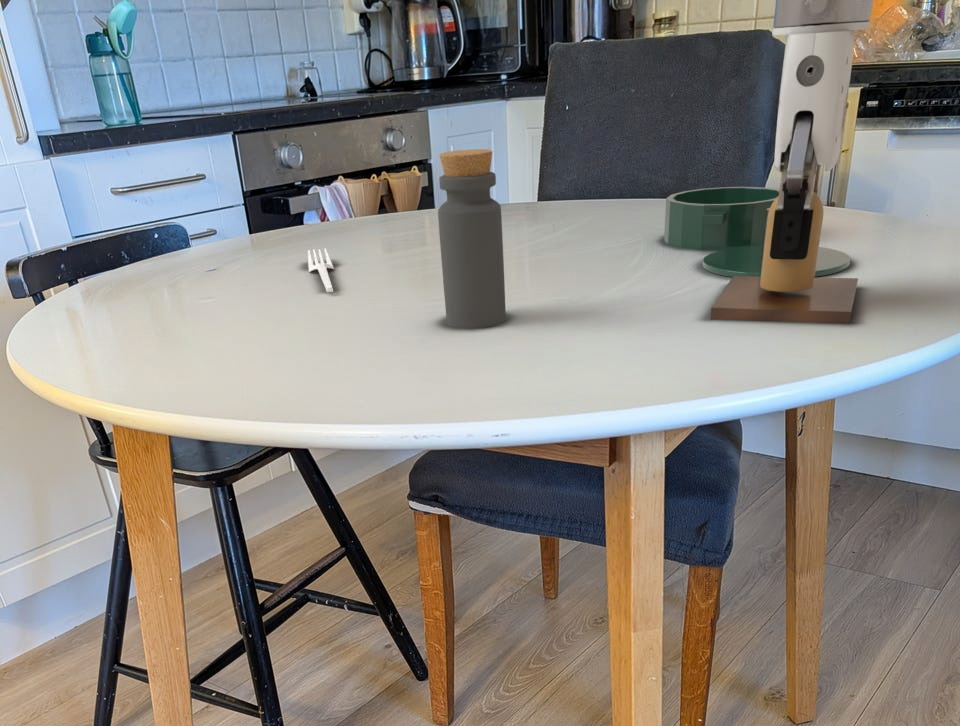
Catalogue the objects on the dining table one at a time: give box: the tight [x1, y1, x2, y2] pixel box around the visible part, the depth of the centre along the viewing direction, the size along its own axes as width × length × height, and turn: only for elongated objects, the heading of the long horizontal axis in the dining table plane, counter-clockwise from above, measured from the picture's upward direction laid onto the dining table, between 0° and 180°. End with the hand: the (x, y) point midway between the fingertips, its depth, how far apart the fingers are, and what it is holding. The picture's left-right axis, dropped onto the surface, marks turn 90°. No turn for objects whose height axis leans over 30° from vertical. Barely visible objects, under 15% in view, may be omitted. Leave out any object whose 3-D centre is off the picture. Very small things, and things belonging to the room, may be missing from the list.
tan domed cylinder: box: [760, 191, 824, 292], centre depth 80 cm, size 5×5×8 cm
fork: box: [307, 248, 335, 293], centre depth 108 cm, size 3×20×2 cm, turn 13°
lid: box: [702, 208, 851, 278], centre depth 96 cm, size 16×16×6 cm
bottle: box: [437, 148, 507, 330], centre depth 82 cm, size 6×6×15 cm
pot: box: [663, 186, 780, 251], centre depth 110 cm, size 15×20×6 cm
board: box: [709, 276, 859, 325], centre depth 83 cm, size 12×13×2 cm
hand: (791, 250), depth 81 cm, fingers closed on tan domed cylinder, 4 cm apart
